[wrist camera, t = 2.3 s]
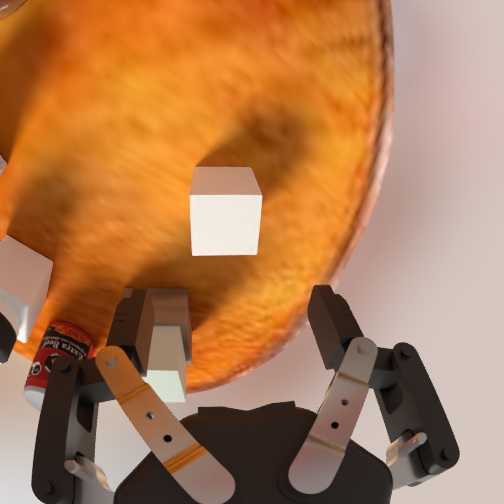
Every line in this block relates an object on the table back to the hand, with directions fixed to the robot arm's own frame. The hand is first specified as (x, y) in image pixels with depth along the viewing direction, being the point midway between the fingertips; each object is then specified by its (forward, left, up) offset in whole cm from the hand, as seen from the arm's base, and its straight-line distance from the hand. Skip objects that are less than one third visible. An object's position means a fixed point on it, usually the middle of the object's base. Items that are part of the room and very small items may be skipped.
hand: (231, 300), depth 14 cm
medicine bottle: (+8, -23, -13) cm, 27 cm away
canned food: (+20, -21, -13) cm, 32 cm away
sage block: (+14, -7, -8) cm, 17 cm away
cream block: (0, 0, -13) cm, 13 cm away
